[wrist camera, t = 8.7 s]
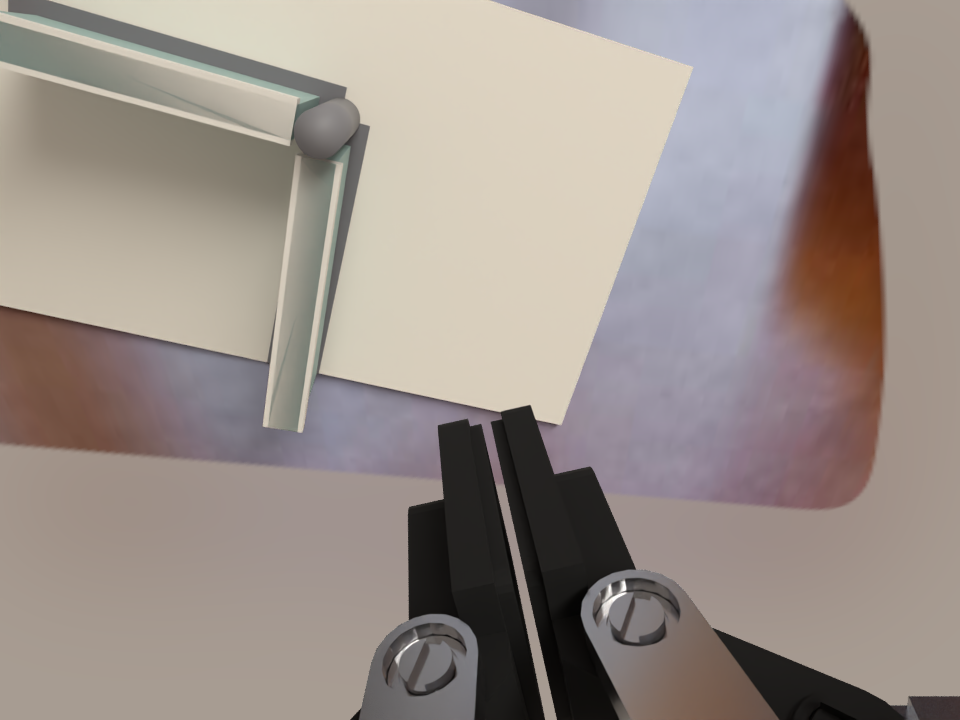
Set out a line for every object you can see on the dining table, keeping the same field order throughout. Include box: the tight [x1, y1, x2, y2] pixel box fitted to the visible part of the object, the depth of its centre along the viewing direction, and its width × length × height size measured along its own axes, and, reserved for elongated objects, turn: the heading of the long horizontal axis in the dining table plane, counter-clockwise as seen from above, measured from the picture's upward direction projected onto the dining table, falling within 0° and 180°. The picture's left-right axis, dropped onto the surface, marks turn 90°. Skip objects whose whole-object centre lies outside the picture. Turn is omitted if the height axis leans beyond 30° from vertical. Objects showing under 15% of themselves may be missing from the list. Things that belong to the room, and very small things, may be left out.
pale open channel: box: [263, 145, 351, 433], centre depth 28 cm, size 2×11×6 cm, turn 167°
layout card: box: [0, 0, 693, 425], centre depth 30 cm, size 18×29×1 cm, turn 74°
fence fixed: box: [0, 11, 360, 159], centre depth 25 cm, size 2×13×7 cm, turn 74°
